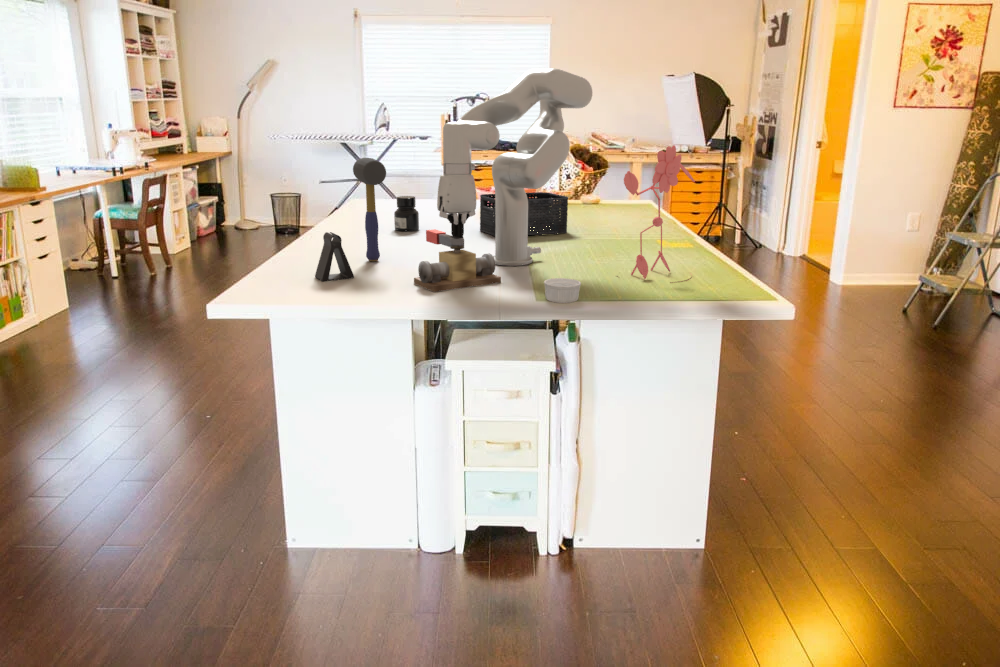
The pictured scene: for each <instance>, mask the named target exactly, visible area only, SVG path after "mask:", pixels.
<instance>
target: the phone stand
mask: <svg viewBox="0 0 1000 667" xmlns="http://www.w3.org/2000/svg"><path fill="white" fill-rule="evenodd" d="M342 245H343V244H342V238H341V236H340V235H338V234H336V233H334V232H330V231H329V232H327V231H326V232H325V233H324V234H323V246H322V249H321V253H320V257H319V259H318V263H317V267H316V271H315V273H314V277H315V278H316V279H318V280H320V281H321V282H325V283H326V282H332V281H338V280H339V281H340V280H349V279H355V274H354V272H353V270H352V268H351V266H350V263H349V261H348V258H347V256H346V254H345V252H344V248H343V246H342ZM334 257H335V261H336V263H337V267H338V270H339V273H331V268H332V262H333V258H334ZM330 273H331V274H330Z"/></svg>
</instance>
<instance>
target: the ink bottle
mask: <svg viewBox="0 0 1000 667" xmlns="http://www.w3.org/2000/svg"><path fill="white" fill-rule="evenodd" d="M416 204H417V203H416V196H413V195H398V196H396V208H397V209H396V210H395V211H394V214H393V215H394V217H393V218H394V230H396V231H398V232H414V231H415V232H416V231H419V230H420V217H419V216H420V215H419V214H420V213H419V211H418V210H417V208H416Z"/></svg>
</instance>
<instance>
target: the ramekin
mask: <svg viewBox="0 0 1000 667" xmlns="http://www.w3.org/2000/svg"><path fill="white" fill-rule="evenodd" d="M543 284H544V296H545V299H546V300H547V301H548V302H551V303H558V304H569V303H575V302H577V301H579V297H580V296H579V295H580V290H581V286H582V283H581V281H580V280H577V279H574V278H573V279H572V278H564V277H561V278H560V277H558V278H557V277H556V278H548V279H545V280H544V281H543Z"/></svg>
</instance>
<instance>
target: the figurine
mask: <svg viewBox="0 0 1000 667" xmlns="http://www.w3.org/2000/svg"><path fill="white" fill-rule="evenodd" d="M656 157H657V158H656V159H657V161H658V162H657V164H656V165H655V167H654V174H653V177H652V185H651V186H650V187H648V188H645V189H644V190H642V191H639V192H638V190H639V180H638V178H637V177H636V175H635V174H634V173H632V172H631V171H630V170H627V171H626V173H625V174H624V177H623V184H624V187H625V189H626V190H628V192H629V193H630V194H631V195H632V196H634V195H636V196H637V197H638V196H639V195H642V194H643V193H645V192H648V191H650V190H651V191H652V192H653V193H654V195H655V198H656V199H657V205H658V206H657V209H658V216H655V217H654V218H653V219H652V225H650V226H648V227H647V228H645V229H644V230H642V231H640V234H639V235H640V236H639V237H640V241H639V242H640V243H639V244H640V245H639V246H640V249H639V250H640V252H639V253H640V254H637V256H636V259H635V260H636V261H635V263H636V264H635V266H634V268H633V269H632V270H631V271H632V272H631V273H630V275H631V276H633V275H634V273H635V272H636V271H637V269H638V272H639V273H640V275H641V276H642V277H643V279H646V278H647V277H648V274H649V265H648V262H647V260H646V258H645V256H643V252H642V251H643V244H642V243H643V242H642V241H643V239H642V237H643V236H642V235H643V233H644V232H646V231H647V230H649V229H652V228H653V227H659V228H660V250H658V251H657V252H658V256H657V257H656V259H655V261H654V262H653V264H652V267H651V268H650V271H651V272H652V271H653V270H654V268H655V267H656V265H657V263H658V261H659V259H661V261H662V263H663V265H664V267H665V268H666V269H667V271H668V272H671V269H670V267H669V265H668V263H667V260H666V259H665V255H663V254H664V253H663V224H664V220H663V218H661V198H660V196H659V195H658V193H657V192H656V190H659V193H660V194H663V192H665V193H666V194H668V193H669V191H670V189H671V186H672V187H675V186H677V185H678V183H679V178H678V176H677V175H678V174H679V173H680V170H681V171H683V173H684V175H685V176H687V177H688V178H689V179H690V180H691V181H692V182H693V183H695V182H696V180H695V179H694V178H693V176H692V175H691V173H690V172H689V170H688V169H687V168H686V167H685V166H684V165H683V164H682V163H681V161H682V155H681V154H677V147H676V145H672V146H669V145H667V147H666V148H665V151H663V150H659V151H658V152H657V156H656ZM657 183H658V186H656V184H657ZM689 274H690V275H691V276H692V275H693V274H692V273H691V272H689ZM615 277H616V278H618V279H620V276H618V275H615ZM690 279H692V277H690V278H688V279H685V280H680V281H678V283H682V282H688V281H690ZM669 283H670V284H673V283H676V281H670V282H669Z"/></svg>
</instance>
